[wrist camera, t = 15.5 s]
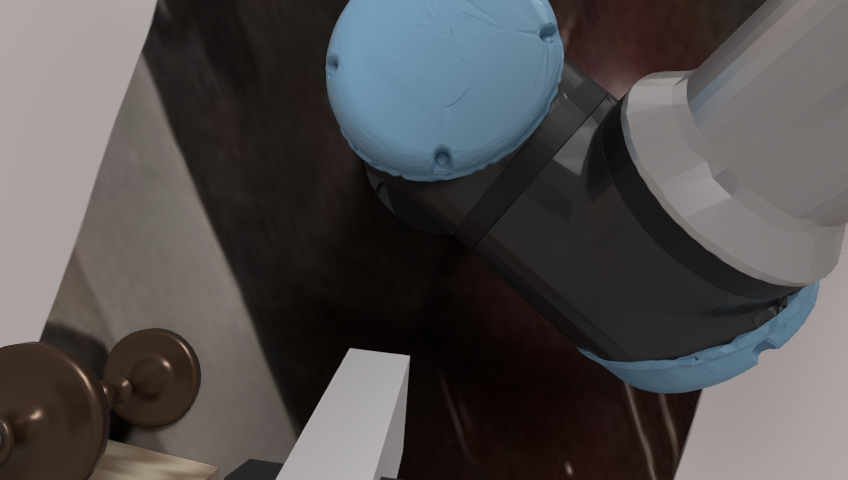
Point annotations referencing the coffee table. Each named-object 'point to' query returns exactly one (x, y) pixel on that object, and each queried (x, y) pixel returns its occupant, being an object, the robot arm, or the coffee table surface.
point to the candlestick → (87, 401)
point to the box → (148, 465)
